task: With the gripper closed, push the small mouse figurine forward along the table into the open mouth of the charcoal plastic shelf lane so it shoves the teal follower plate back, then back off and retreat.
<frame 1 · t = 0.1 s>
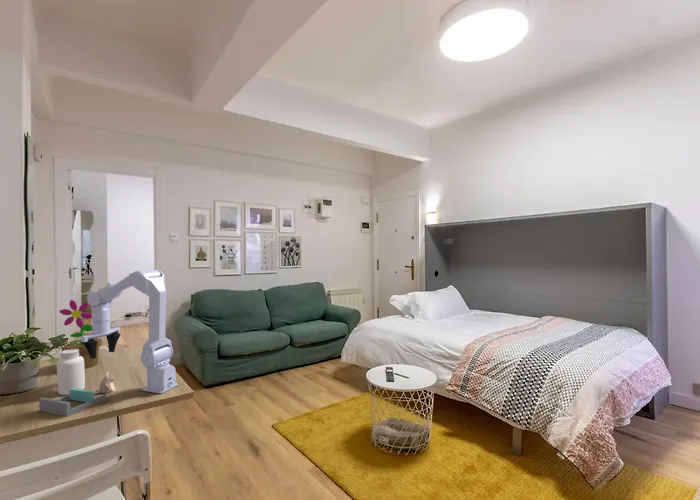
hand: (102, 355, 141), 10 cm above the table, fingers open, 7 cm apart
flowerpot: (83, 366, 158), on the table
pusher: (81, 395, 123), point 2 cm above the table, slide at 0.0 cm
pill bottle: (71, 391, 132), on the table
mouse figurine: (103, 392, 131), on the table
lane: (75, 403, 122), on the table
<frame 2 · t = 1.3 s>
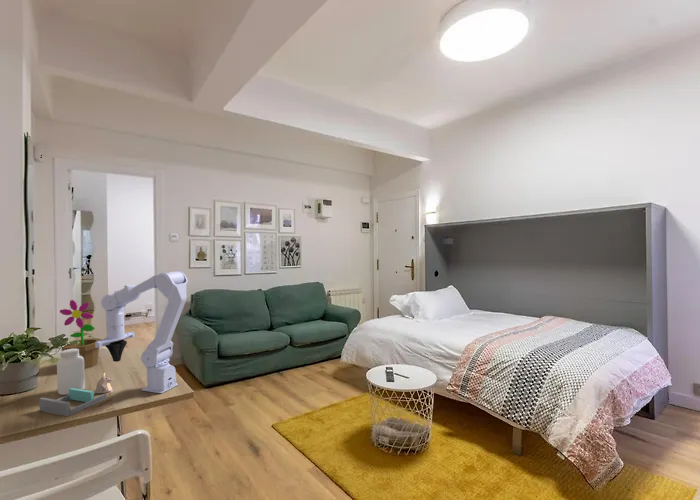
hand: (116, 360, 136), 9 cm above the table, fingers closed
nothing on the table moved.
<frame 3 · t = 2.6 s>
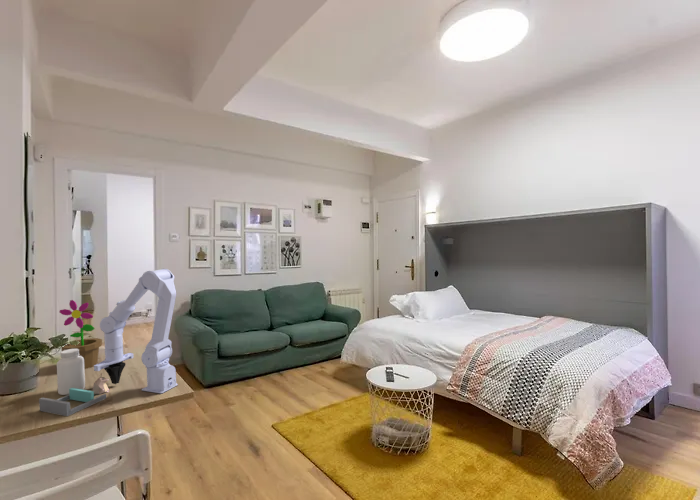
hand: (115, 383, 135), 1 cm above the table, fingers closed
mouse figurine: (96, 393, 130), on the table
everything else where it was.
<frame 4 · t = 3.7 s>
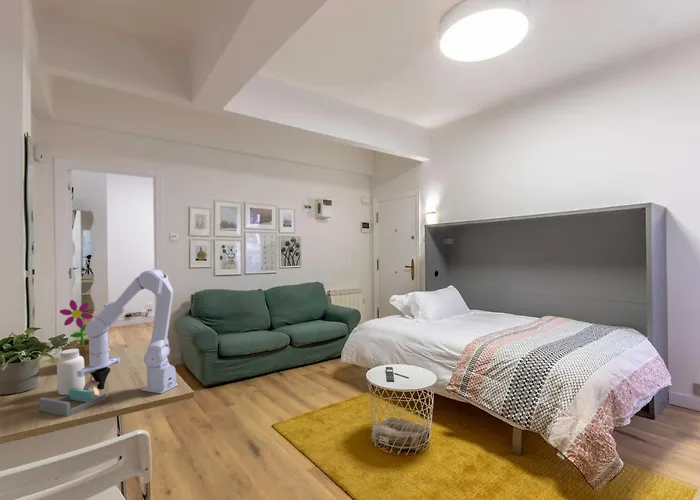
hand: (100, 389, 130), 1 cm above the table, fingers closed, pressing on mouse figurine
mouse figurine: (86, 396, 127), on the table, touching gripper
everything else where it was.
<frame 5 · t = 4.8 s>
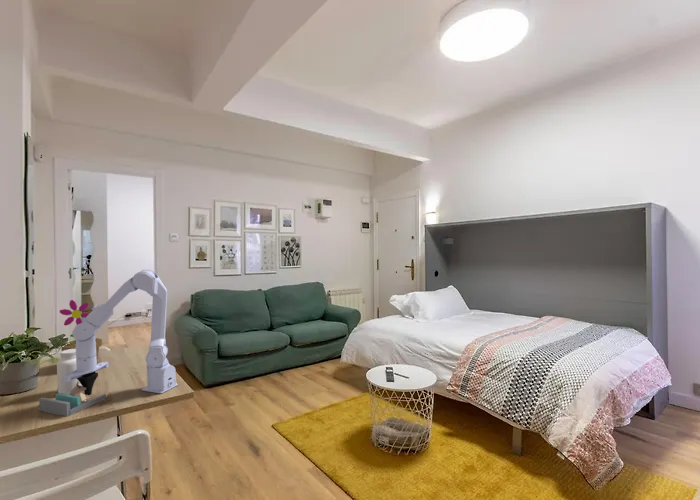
hand: (88, 394, 126), 1 cm above the table, fingers closed, pressing on mouse figurine
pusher: (68, 400, 119), point 2 cm above the table, slide at 4.4 cm, touching mouse figurine
mouse figurine: (73, 402, 123), on the table, touching gripper, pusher
everything else where it was.
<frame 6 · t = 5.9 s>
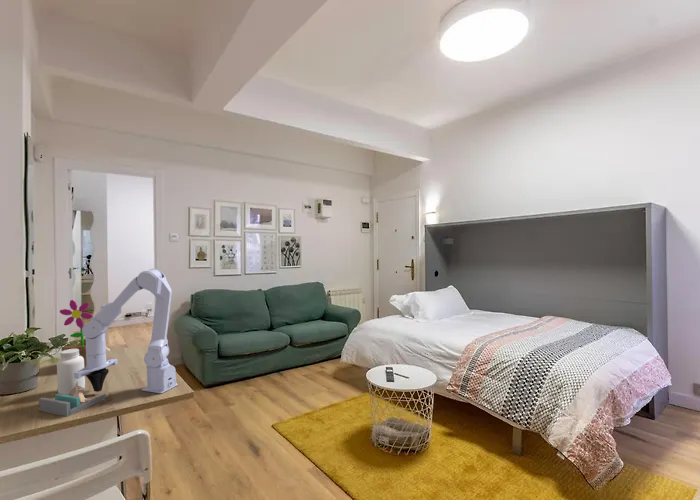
hand: (97, 390, 129), 1 cm above the table, fingers closed
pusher: (67, 401, 119), point 2 cm above the table, slide at 4.6 cm
mouse figurine: (72, 403, 123), on the table
everything else where it was.
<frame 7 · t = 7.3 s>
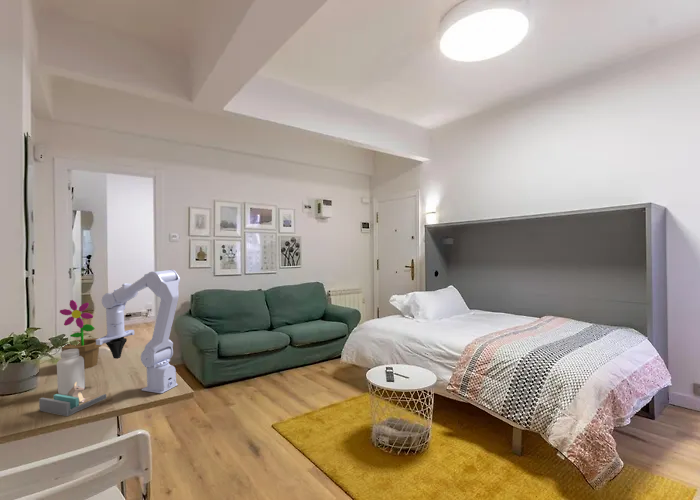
hand: (116, 357, 139), 9 cm above the table, fingers closed
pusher: (66, 401, 119), point 2 cm above the table, slide at 5.0 cm
everything else where it was.
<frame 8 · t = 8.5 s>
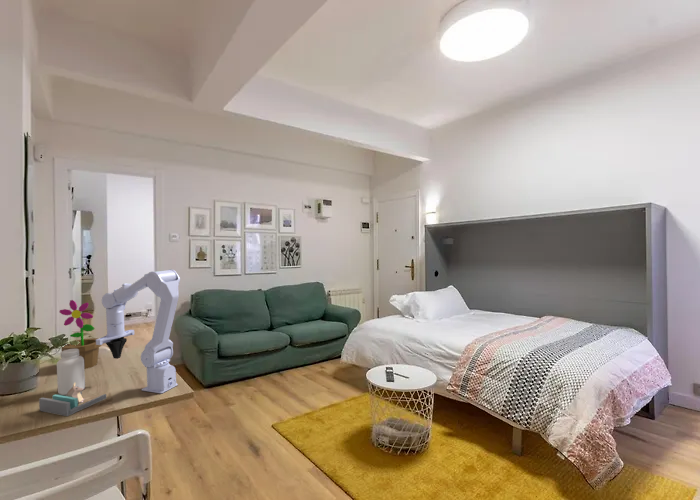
hand: (116, 357, 139), 9 cm above the table, fingers closed
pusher: (65, 402, 118), point 2 cm above the table, slide at 5.3 cm
everything else where it was.
at the end: mouse figurine inside the target area (2.5 cm from its centre), on the table; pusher slide at 5.3 cm; mouse figurine tilted 0° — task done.
